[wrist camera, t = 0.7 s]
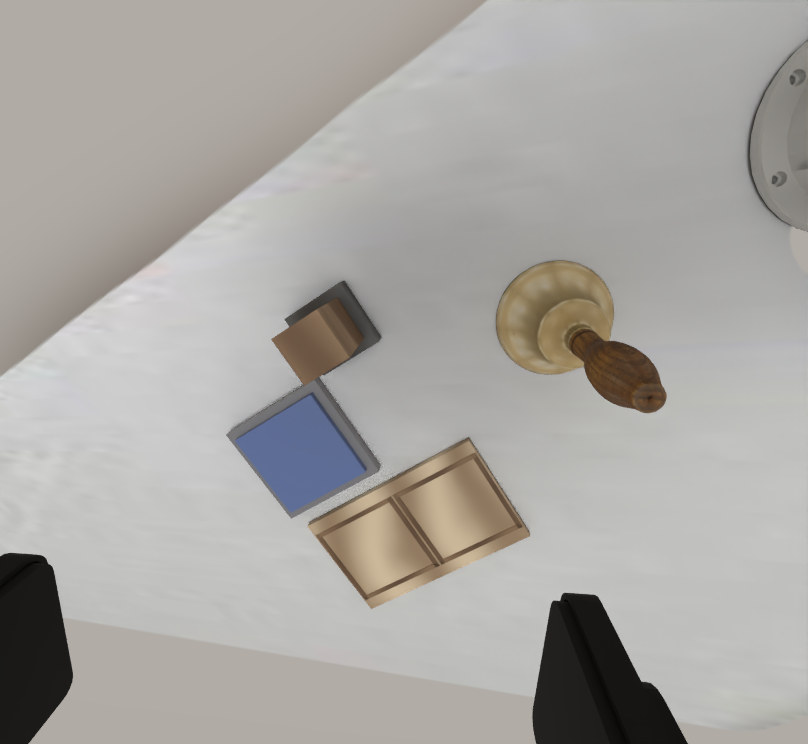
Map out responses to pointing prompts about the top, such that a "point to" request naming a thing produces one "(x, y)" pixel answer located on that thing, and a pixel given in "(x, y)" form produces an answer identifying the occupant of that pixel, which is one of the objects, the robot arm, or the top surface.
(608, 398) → the hand bell
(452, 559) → the board
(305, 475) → the ink pad
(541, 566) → the top surface
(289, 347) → the stamp
